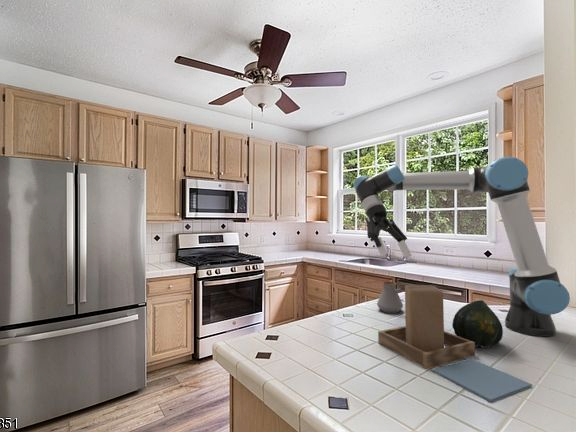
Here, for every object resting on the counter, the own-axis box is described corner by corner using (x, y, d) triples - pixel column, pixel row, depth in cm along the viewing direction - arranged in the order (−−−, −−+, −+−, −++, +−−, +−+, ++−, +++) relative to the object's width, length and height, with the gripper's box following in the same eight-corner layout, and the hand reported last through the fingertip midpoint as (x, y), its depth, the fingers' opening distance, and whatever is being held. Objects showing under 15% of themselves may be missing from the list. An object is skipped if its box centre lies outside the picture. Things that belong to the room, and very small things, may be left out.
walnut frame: (422, 333, 114) (422, 322, 114) (475, 355, 95) (474, 342, 95) (378, 343, 106) (378, 331, 106) (426, 368, 87) (426, 354, 87)
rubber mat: (471, 360, 92) (471, 358, 92) (531, 386, 77) (531, 384, 77) (432, 371, 85) (432, 369, 85) (490, 402, 71) (490, 399, 71)
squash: (448, 331, 101) (482, 298, 98) (440, 319, 115) (470, 290, 113) (486, 365, 97) (522, 332, 95) (474, 348, 111) (505, 319, 109)
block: (445, 356, 95) (444, 291, 95) (410, 354, 97) (409, 290, 97) (436, 343, 104) (435, 284, 105) (405, 341, 106) (404, 284, 107)
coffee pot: (371, 309, 146) (371, 277, 146) (390, 306, 151) (390, 275, 151) (406, 322, 127) (405, 285, 127) (426, 318, 131) (425, 283, 132)
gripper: (388, 217, 133) (409, 261, 122) (346, 210, 119) (366, 259, 108) (400, 207, 128) (424, 252, 117) (358, 198, 114) (381, 248, 103)
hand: (396, 255), depth 112 cm, fingers open, 13 cm apart
